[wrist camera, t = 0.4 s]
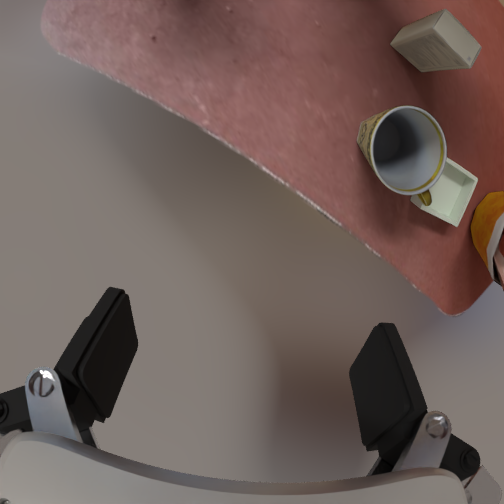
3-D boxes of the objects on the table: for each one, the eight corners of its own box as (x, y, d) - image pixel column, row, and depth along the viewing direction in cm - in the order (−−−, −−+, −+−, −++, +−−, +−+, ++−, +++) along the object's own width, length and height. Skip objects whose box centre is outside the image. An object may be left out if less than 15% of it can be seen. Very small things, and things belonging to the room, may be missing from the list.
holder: (430, 149, 33) (442, 154, 29) (465, 172, 33) (478, 178, 30) (409, 200, 37) (420, 208, 34) (446, 218, 38) (457, 227, 34)
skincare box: (432, 55, 25) (483, 48, 15) (420, 74, 27) (472, 70, 17) (400, 26, 24) (446, 6, 13) (387, 44, 26) (432, 27, 15)
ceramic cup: (331, 124, 33) (353, 130, 24) (389, 92, 29) (425, 91, 21) (374, 202, 37) (402, 231, 29) (425, 170, 34) (463, 192, 26)
